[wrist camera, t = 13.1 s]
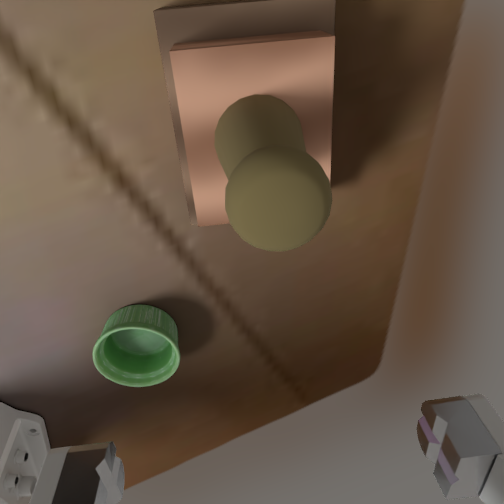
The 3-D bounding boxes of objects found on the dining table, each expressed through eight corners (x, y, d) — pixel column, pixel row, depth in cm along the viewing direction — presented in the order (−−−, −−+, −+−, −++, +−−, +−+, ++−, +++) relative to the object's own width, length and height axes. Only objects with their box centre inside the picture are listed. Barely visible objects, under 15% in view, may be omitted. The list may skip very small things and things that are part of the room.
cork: (313, 104, 27) (368, 165, 18) (289, 188, 30) (325, 278, 21) (222, 85, 26) (230, 139, 16) (207, 174, 29) (206, 262, 20)
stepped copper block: (318, 191, 39) (340, 233, 32) (192, 204, 39) (189, 250, 32) (321, -6, 30) (353, -5, 24) (159, 8, 30) (145, 14, 23)
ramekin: (128, 366, 50) (122, 397, 46) (85, 316, 45) (73, 345, 41) (195, 342, 48) (194, 371, 45) (158, 288, 44) (153, 315, 40)
